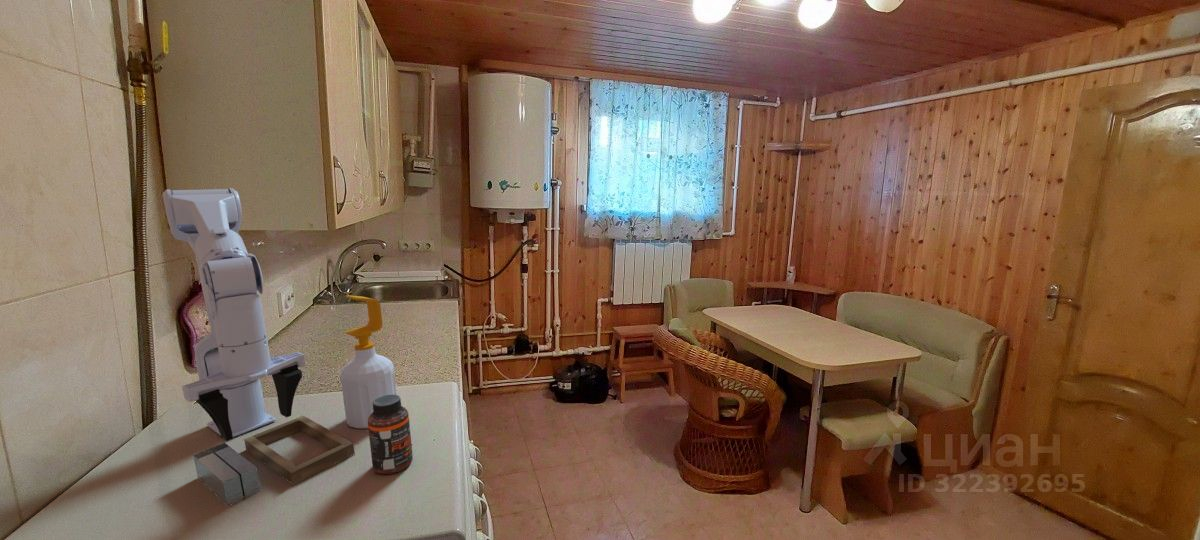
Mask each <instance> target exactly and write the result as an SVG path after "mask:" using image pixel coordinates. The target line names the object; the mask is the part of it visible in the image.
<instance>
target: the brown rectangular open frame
mask: <svg viewBox="0 0 1200 540" xmlns="http://www.w3.org/2000/svg"><path fill="white" fill-rule="evenodd" d="M299 431H302V432H303V433H305V434H307V435H309V436H310V437H312V438H313V439H315V440H317V441H319V442H320V443H322V444H324V445H325V446H327V447H329V448H331V449H330V450H328V451H326V452H323V453H321V454H319V455H317V456H315V457H312V458H311V459H309V460H306V461H305V462H303V463H300V464H299V465H295V464H294V463H293V462H291V461H290V460H288V459H286V458H285V457H284V456H282V455H281V454H279V453H278V452H277V451H275V450H273V449H272V448H270V447H269V446H268V444H271V443H273V442H276V441H278V440H280V439H283V438H286V437H288V436H290V435H293V434H295V433H298V432H299ZM243 440H244V445H245V450H246V451H247V452H249V454H251V455H252V456H254V458H256V459H258V460H259V461H261V462H262V463H263V464H264V465H266V466H267V467H269V468H270V469H271V468H272V469H271V470H273V471H274V472H275V471H276V472H275V473H277V474H278V475H279V474H280V475H279V476H281V477H282V478H283V477H284V478H283V479H285V480H286V479H287V480H288V481H287V480H286V481H287V482H288V483H290V482H291V483H290V484H291V485H293V486H294V485H296V484H298V483H300V482H303V481H304V480H306V479H308V478H310V477H313V476H314V475H316V474H319V473H320V472H322V471H324V470H326V469H328V468H330V467H332V466H334V465H336V464H338V463H339V461H340V462H342V461H343V459H344V458H346V457H348V456H350V457H352V456H354V455H356V453H355V447H354V445H355V444H354V442H352V441H350V440H348V439H346V438H345V437H342V436H341V435H339V434H338V433H336V432H333V431H332V430H330V429H328V428H326V426H323V425H321V424H319V423H318V422H316V421H315V420H312V419H310V418H308V417H306V416H305V415H301V416H299V417H297V418H294V419H291V420H289V421H287V422H284V423H281V424H279V425H277V426H274V427H271V428H269V429H266V430H264V431H261V432H258V433H256V434H254V435H251V436H249V437H246V438H244V439H243ZM353 454H354V455H353ZM351 455H352V456H351ZM348 458H349V457H348ZM346 459H347V458H346ZM341 460H342V461H341ZM344 460H345V459H344ZM337 462H338V463H337ZM335 463H336V464H335ZM333 464H334V465H333ZM331 465H332V466H331ZM329 466H330V467H329ZM323 469H324V470H323ZM321 470H322V471H321Z"/></svg>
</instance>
